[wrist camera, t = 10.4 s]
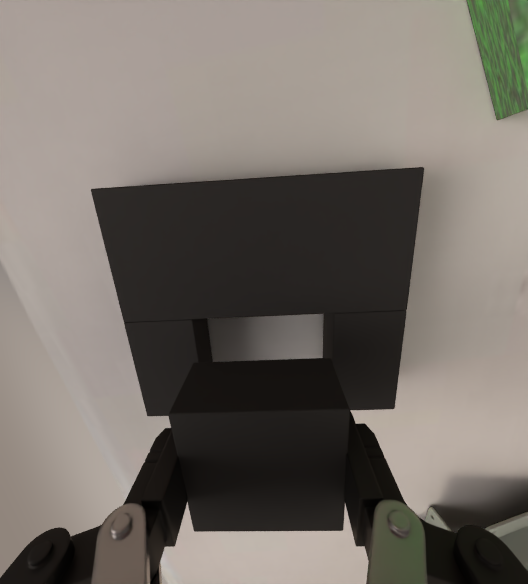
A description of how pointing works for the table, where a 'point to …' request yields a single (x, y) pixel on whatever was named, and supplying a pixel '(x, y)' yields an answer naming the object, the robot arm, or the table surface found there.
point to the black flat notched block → (265, 269)
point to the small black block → (263, 445)
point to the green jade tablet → (503, 51)
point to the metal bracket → (499, 532)
